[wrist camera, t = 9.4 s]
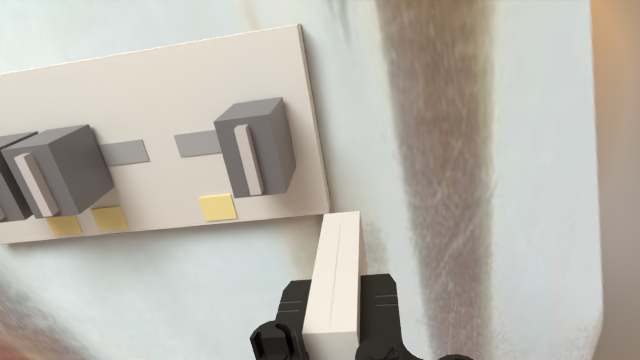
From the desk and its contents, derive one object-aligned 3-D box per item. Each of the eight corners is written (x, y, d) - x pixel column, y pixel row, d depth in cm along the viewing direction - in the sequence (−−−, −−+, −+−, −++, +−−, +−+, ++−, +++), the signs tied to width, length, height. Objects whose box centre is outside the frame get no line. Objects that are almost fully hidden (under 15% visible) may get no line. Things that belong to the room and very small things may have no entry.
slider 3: (251, 171, 35) (231, 203, 29) (234, 103, 32) (209, 125, 27) (296, 166, 34) (284, 198, 29) (282, 96, 32) (266, 117, 26)
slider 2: (75, 191, 37) (28, 224, 32) (47, 129, 35) (-9, 154, 30) (114, 187, 37) (73, 219, 31) (88, 123, 34) (39, 147, 29)
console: (0, 234, 43) (-17, 246, 41) (-83, 87, 37) (-108, 92, 35) (330, 202, 38) (328, 214, 36) (300, 23, 32) (296, 25, 30)
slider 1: (28, 196, 38) (-25, 229, 33) (-3, 136, 36) (-66, 161, 30) (65, 192, 37) (17, 225, 32) (37, 131, 35) (-20, 155, 30)
